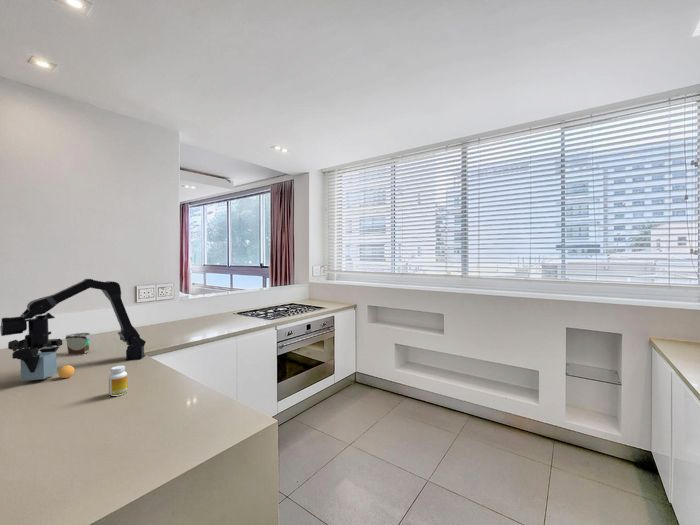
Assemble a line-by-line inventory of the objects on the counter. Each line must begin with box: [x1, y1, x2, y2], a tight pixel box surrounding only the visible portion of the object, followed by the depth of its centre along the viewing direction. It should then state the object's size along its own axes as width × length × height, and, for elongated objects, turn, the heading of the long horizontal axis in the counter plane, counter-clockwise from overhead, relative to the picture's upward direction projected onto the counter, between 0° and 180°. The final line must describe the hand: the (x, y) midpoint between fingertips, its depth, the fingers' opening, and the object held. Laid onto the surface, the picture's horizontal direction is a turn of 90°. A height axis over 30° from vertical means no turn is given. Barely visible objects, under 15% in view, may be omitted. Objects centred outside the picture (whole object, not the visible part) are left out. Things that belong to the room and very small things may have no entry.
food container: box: [65, 332, 92, 355], centre depth 165 cm, size 12×6×10 cm, turn 84°
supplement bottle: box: [108, 365, 128, 396], centre depth 113 cm, size 5×5×10 cm
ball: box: [57, 364, 75, 379], centre depth 130 cm, size 5×5×5 cm
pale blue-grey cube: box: [20, 351, 58, 382], centre depth 128 cm, size 8×8×9 cm
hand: (39, 369), depth 128 cm, fingers closed on pale blue-grey cube, 7 cm apart
